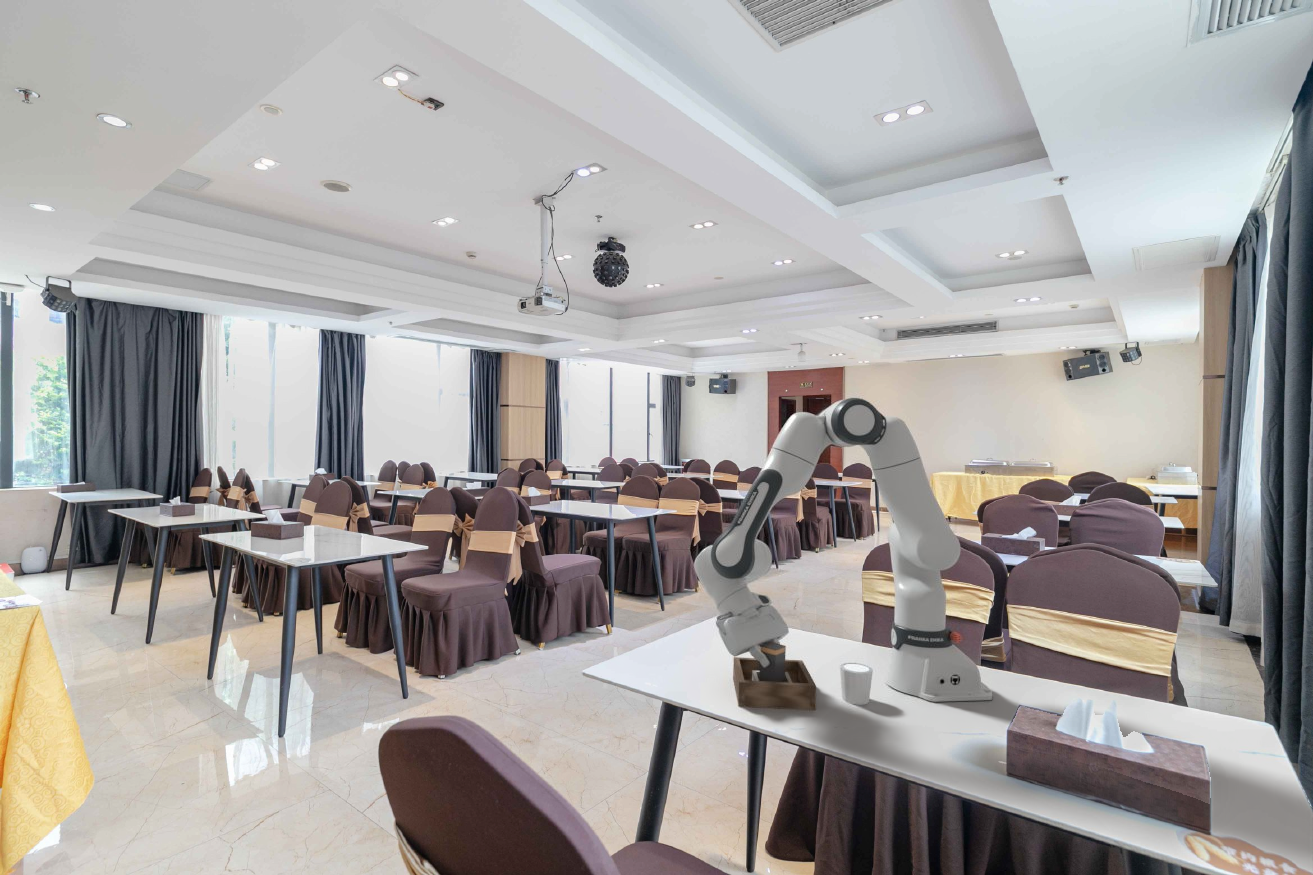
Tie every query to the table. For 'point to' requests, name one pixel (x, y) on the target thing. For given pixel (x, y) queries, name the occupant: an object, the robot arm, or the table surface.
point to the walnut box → (774, 686)
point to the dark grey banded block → (773, 662)
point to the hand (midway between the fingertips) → (775, 662)
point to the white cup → (855, 683)
